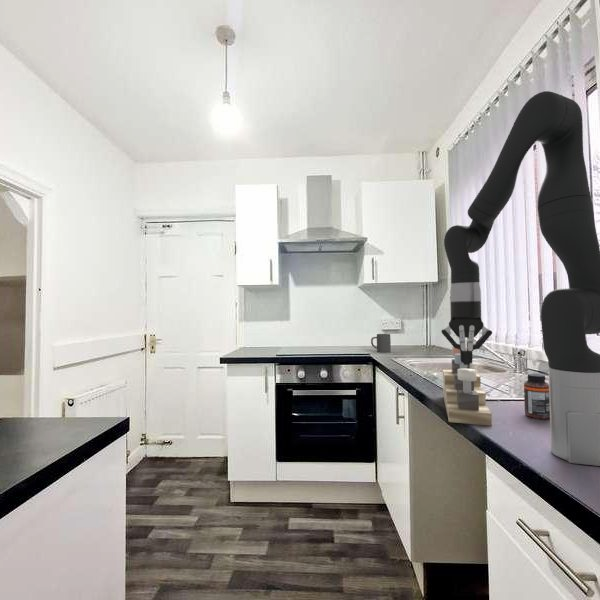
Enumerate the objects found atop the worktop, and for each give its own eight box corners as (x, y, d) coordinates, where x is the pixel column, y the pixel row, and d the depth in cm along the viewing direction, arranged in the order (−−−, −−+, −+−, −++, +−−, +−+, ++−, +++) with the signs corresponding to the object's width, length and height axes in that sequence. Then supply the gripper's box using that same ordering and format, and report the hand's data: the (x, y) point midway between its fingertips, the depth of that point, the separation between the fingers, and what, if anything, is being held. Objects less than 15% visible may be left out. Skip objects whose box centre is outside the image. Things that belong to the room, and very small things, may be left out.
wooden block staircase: (491, 425, 91) (490, 373, 92) (448, 422, 95) (447, 371, 95) (476, 399, 118) (475, 358, 118) (443, 396, 121) (442, 357, 121)
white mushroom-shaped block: (478, 397, 94) (477, 371, 95) (458, 396, 96) (458, 370, 96) (475, 393, 99) (475, 368, 99) (457, 392, 100) (456, 368, 100)
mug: (387, 351, 252) (386, 333, 253) (393, 352, 243) (392, 334, 244) (368, 351, 250) (368, 334, 250) (374, 353, 241) (373, 335, 241)
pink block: (469, 370, 112) (468, 348, 112) (453, 369, 114) (452, 348, 114) (467, 367, 116) (467, 346, 117) (452, 367, 118) (451, 346, 118)
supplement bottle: (526, 412, 103) (525, 371, 103) (551, 415, 99) (550, 374, 99) (523, 417, 98) (521, 374, 98) (549, 421, 94) (548, 377, 95)
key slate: (473, 379, 103) (472, 355, 103) (455, 378, 105) (455, 355, 105) (471, 376, 107) (470, 353, 108) (454, 375, 109) (454, 353, 109)
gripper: (439, 300, 97) (440, 365, 96) (495, 299, 92) (496, 368, 92) (438, 300, 104) (439, 361, 103) (490, 299, 99) (491, 363, 99)
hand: (466, 364), depth 98 cm, fingers closed
